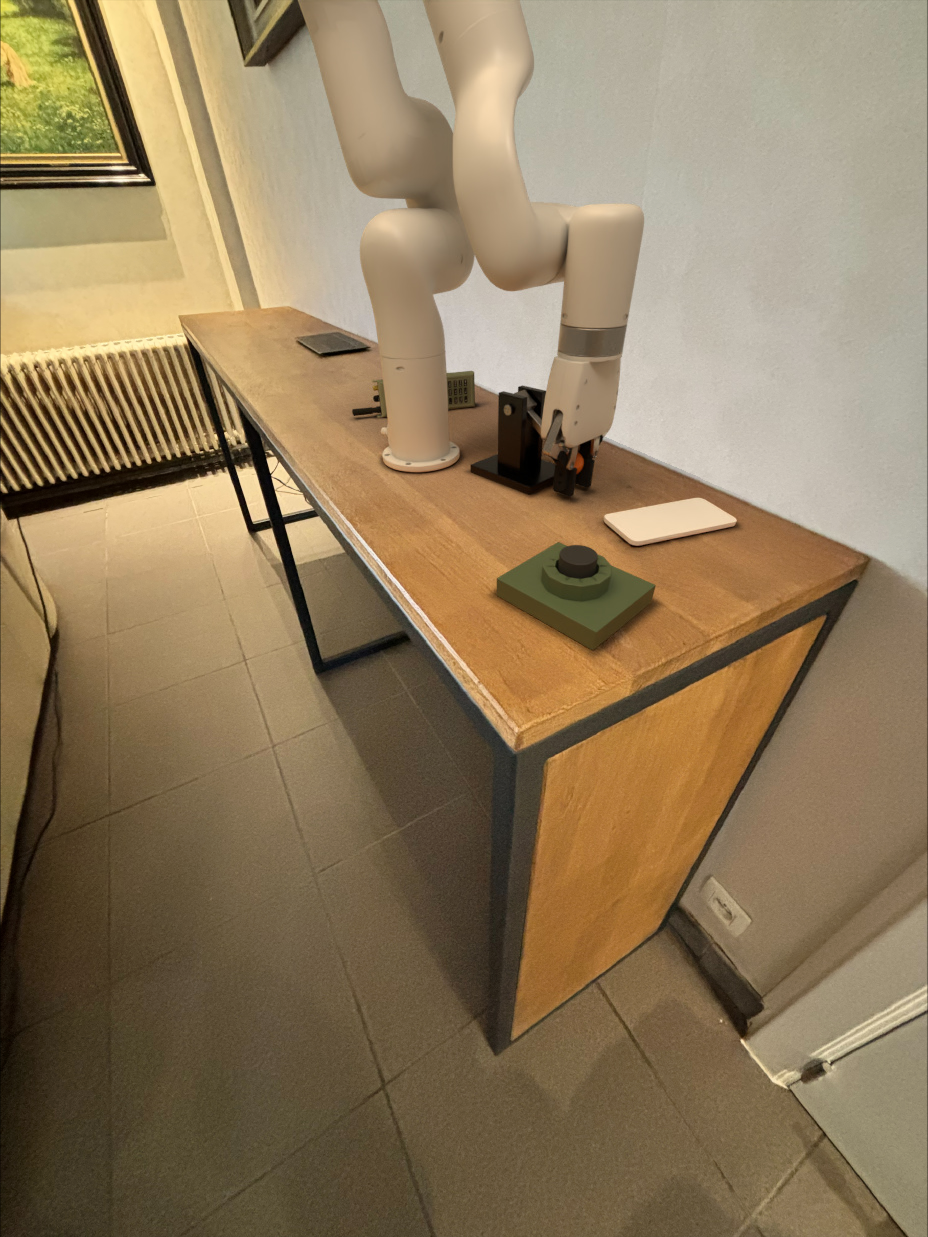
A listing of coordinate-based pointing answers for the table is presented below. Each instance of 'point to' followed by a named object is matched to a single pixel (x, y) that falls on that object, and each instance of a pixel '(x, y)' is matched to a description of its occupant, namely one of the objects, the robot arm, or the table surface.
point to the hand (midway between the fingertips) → (571, 487)
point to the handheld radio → (457, 391)
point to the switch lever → (537, 423)
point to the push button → (577, 561)
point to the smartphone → (668, 521)
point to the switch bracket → (518, 446)
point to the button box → (575, 596)
